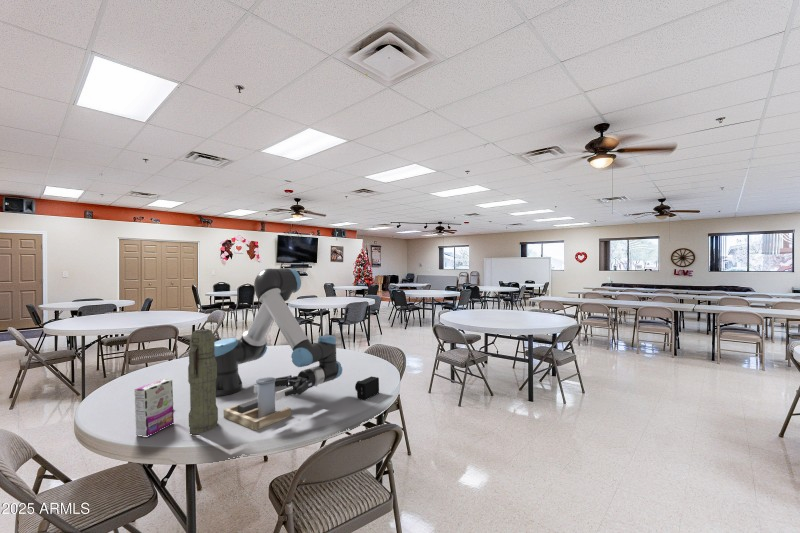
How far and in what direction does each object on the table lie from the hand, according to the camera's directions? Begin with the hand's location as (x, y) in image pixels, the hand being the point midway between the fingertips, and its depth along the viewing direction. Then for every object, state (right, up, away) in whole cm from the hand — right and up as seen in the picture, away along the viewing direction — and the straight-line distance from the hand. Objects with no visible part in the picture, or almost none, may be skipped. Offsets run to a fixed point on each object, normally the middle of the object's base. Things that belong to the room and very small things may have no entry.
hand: (264, 392), depth 130 cm
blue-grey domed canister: (+1, -10, +1) cm, 10 cm away
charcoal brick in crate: (-7, -10, +6) cm, 14 cm away
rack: (-4, -11, +3) cm, 12 cm away
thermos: (-19, -11, -5) cm, 23 cm away
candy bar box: (-37, -12, -5) cm, 39 cm away
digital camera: (+35, -11, +26) cm, 45 cm away
